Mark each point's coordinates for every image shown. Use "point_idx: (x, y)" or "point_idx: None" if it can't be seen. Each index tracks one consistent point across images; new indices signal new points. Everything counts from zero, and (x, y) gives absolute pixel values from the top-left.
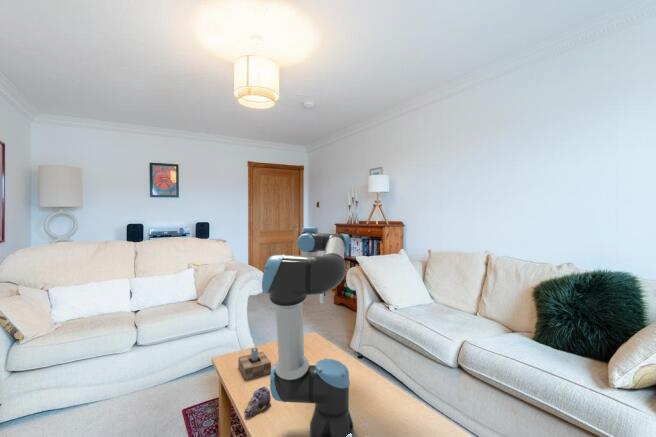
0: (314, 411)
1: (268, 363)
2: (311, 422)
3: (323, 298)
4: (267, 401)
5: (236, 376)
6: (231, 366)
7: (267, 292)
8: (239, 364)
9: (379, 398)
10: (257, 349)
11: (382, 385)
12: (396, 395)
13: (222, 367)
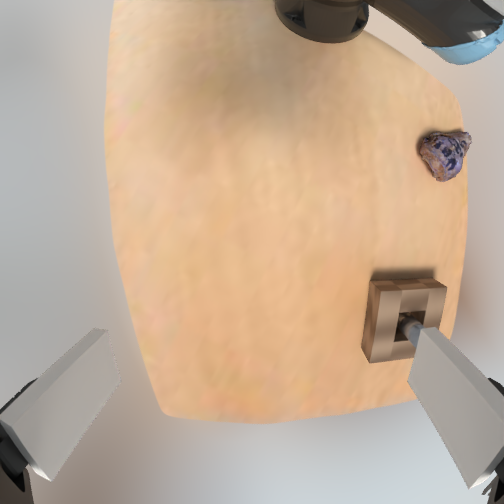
0: (365, 4)
1: (388, 290)
2: (367, 14)
3: (65, 356)
4: (430, 140)
5: None
6: None
7: None
8: None
9: (159, 45)
10: (418, 338)
11: (118, 86)
12: (121, 46)
13: None
